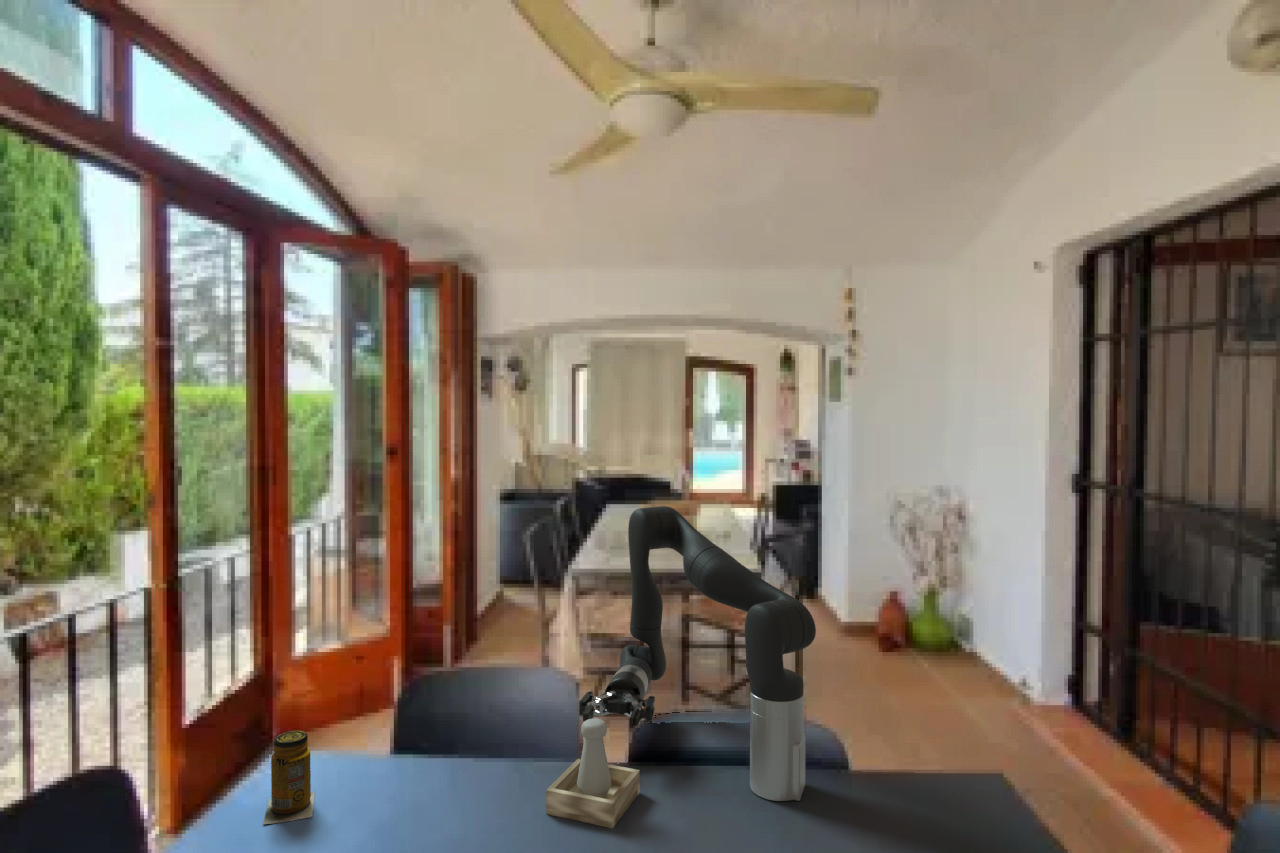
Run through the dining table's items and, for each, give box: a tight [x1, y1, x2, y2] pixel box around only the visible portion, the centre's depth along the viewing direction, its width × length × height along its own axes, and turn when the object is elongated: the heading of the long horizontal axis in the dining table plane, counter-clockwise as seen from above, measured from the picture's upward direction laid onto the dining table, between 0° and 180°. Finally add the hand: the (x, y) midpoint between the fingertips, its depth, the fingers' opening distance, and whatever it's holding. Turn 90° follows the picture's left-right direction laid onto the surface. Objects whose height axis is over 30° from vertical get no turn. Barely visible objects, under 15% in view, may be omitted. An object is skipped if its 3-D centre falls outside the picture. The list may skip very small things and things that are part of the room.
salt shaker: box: [577, 717, 611, 799], centre depth 129 cm, size 6×6×13 cm
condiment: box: [262, 730, 316, 825], centre depth 127 cm, size 7×8×12 cm
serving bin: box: [545, 758, 641, 829], centre depth 129 cm, size 12×12×4 cm
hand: (609, 721), depth 140 cm, fingers open, 8 cm apart
